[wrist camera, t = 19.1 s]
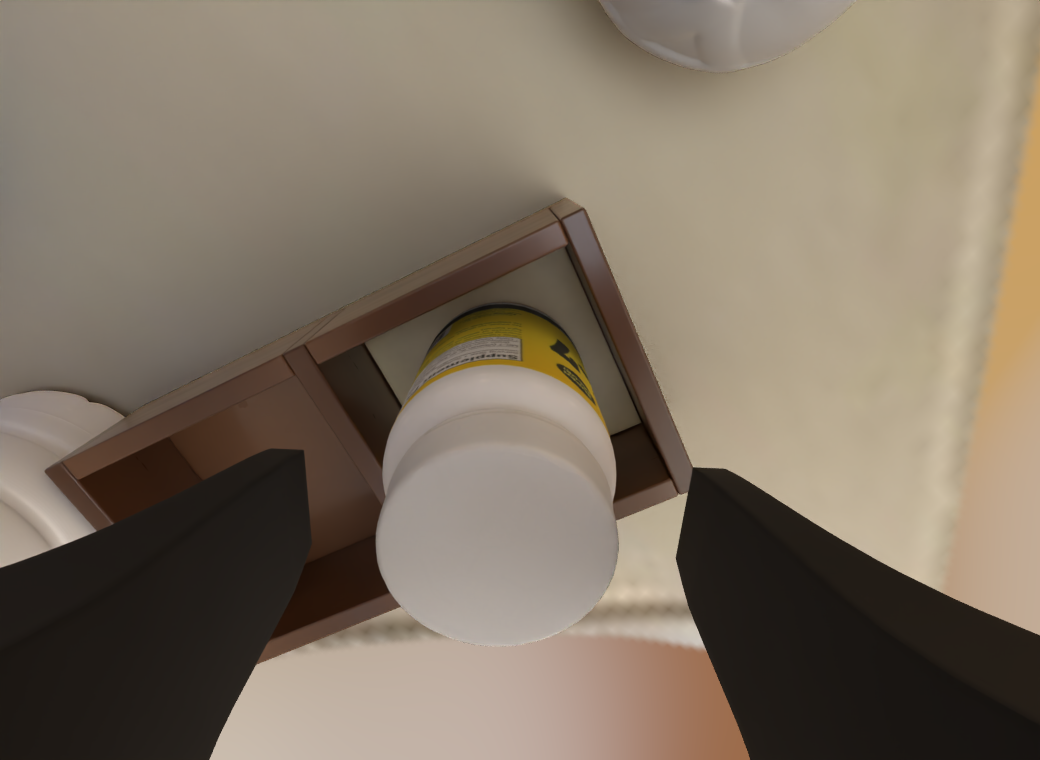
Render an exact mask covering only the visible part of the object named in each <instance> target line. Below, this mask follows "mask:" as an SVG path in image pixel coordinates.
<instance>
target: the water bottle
mask: <svg viewBox="0 0 1040 760" xmlns="http://www.w3.org/2000/svg"><path fill="white" fill-rule="evenodd" d="M123 418H125V417H124V416H123V415H121V414H120V413H118V412H117V411H115V410H113V409H111V408H110V407H108V406H105V405H103V404H100V403H92V402H88V400H87V399H86V398H84V397H82V396H79V395H76V394H72V393H66V392H59V391H32V392H27V393H23V394H15V395H11V396H8V397H5V398H2V399H0V568H1V567H4V566H7V565H10V564H13V563H16V562H19V561H22V560H25V559H27V558H30V557H33V556H36V555H38V554H41V553H43V552H46V551H49V550H51V549H54V548H56V547H59V546H62V545H64V544H67V543H69V542H72V541H74V540H77V539H79V538H82V537H84V536H87V535H89V534H91V533H94V532H96V530H95V529H94V528H93V526H92V525H91V524H90V523H89V522H88V521H87V520H86V519H85V517H84V516H83V515H82V514H81V513H80V512H79V511H78V510H77V508H76V507H75V506H74V505H73V504H72V503H71V502H70V501H69V499H68V498H67V497H66V496H65V495H64V494H63V493H62V492H61V490H60V489H59V488H58V487H57V486H56V485H55V484H54V482H53V481H52V480H51V479H50V478H49V477H48V476H47V475H46V473H45V470H46V468H48V467H50V466H51V465H53V464H54V463H56V462H57V461H59V460H60V459H62V458H63V457H65V456H66V455H68V454H70V453H71V452H73V451H74V450H76V449H77V448H79V447H80V446H82V445H83V444H85V443H86V442H88V441H89V440H91V439H93V438H94V437H96V436H97V435H99V434H100V433H102V432H103V431H105V430H106V429H108V428H109V427H111V426H113V425H114V424H116V423H117V422H119V421H120V420H122V419H123Z"/></svg>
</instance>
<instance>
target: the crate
mask: <svg viewBox="0 0 1040 760" xmlns="http://www.w3.org/2000/svg"><path fill="white" fill-rule="evenodd" d="M500 302H502V303H515V304H521V305H525V306H528V307H531V308H534V309H536V310H539V311H540V312H542V313H544V314H546V315H548V316H549V317H550V318H552V319H553V320H555V321H556V322H557V323H558V324H559V325H560V326H561V327H562V328H563V329H564V330H565V331H566V333H567V334H568V335H569V337H570V338H571V340H572V341H573V343H574V345H575V347H576V349H577V351H578V353H579V355H580V358H581V360H582V363H583V365H584V368H585V371H586V374H587V377H588V379H589V382H590V384H591V387H592V390H593V393H594V396H595V399H596V401H597V404H598V407H599V409H600V412H601V414H602V417H603V419H604V421H605V424H606V427H607V429H608V432H609V435H610V440H611V443H612V447H613V451H614V457H615V461H616V487H615V494H614V498H613V511H614V515H615V519H616V520H619V519H621V518H624V517H626V516H629V515H631V514H634V513H636V512H639V511H641V510H644V509H646V508H649V507H651V506H654V505H656V504H659V503H661V502H664V501H666V500H669V499H671V498H674V497H676V496H678V493H679V494H684V493H686V492H688V491H689V485H690V480H691V475H692V470H693V467H692V464H691V462H690V459H689V457H688V455H687V452H686V450H685V447H684V445H683V443H682V440H681V438H680V435H679V433H678V431H677V428H676V426H675V423H674V421H673V419H672V416H671V414H670V411H669V409H668V407H667V404H666V402H665V399H664V397H663V395H662V392H661V390H660V387H659V385H658V382H657V380H656V378H655V375H654V373H653V370H652V368H651V366H650V363H649V361H648V358H647V356H646V354H645V351H644V349H643V346H642V344H641V342H640V339H639V337H638V334H637V332H636V330H635V327H634V325H633V322H632V320H631V318H630V315H629V313H628V310H627V308H626V306H625V303H624V301H623V298H622V296H621V294H620V291H619V289H618V286H617V284H616V282H615V279H614V277H613V274H612V272H611V269H610V267H609V265H608V262H607V260H606V257H605V255H604V253H603V250H602V248H601V245H600V243H599V241H598V238H597V236H596V233H595V231H594V229H593V226H592V224H591V221H590V219H589V217H588V214H587V212H586V210H585V209H584V208H583V207H582V206H580V205H578V204H576V203H575V202H573V201H571V200H570V199H568V198H564V199H562V200H560V201H558V202H556V203H554V204H552V205H550V206H548V207H546V208H544V209H542V210H540V211H538V212H536V213H534V214H532V215H530V216H528V217H526V218H523V219H521V220H519V221H517V222H515V223H513V224H511V225H509V226H507V227H505V228H503V229H501V230H499V231H497V232H495V233H493V234H491V235H489V236H487V237H485V238H483V239H481V240H479V241H477V242H475V243H473V244H471V245H469V246H467V247H465V248H463V249H461V250H459V251H456V252H454V253H452V254H450V255H448V256H446V257H444V258H442V259H440V260H438V261H436V262H434V263H432V264H430V265H428V266H426V267H424V268H422V269H420V270H418V271H416V272H414V273H412V274H410V275H408V276H406V277H404V278H402V279H400V280H398V281H396V282H394V283H391V284H389V285H387V286H385V287H383V288H381V289H379V290H377V291H375V292H373V293H371V294H369V295H367V296H365V297H363V298H361V299H359V300H357V301H355V302H353V303H351V304H349V305H347V306H345V307H343V308H341V309H339V310H337V311H335V312H333V313H331V314H329V315H326V316H324V317H322V318H320V319H318V320H316V321H314V322H312V323H310V324H308V325H306V326H304V327H302V328H300V329H298V330H296V331H294V332H292V333H290V334H288V335H286V336H284V337H282V338H280V339H278V340H276V341H274V342H272V343H270V344H268V345H266V346H264V347H261V348H259V349H257V350H255V351H253V352H251V353H249V354H247V355H245V356H243V357H241V358H239V359H237V360H235V361H233V362H231V363H229V364H227V365H225V366H223V367H221V368H219V369H217V370H215V371H213V372H211V373H209V374H207V375H205V376H203V377H201V378H199V379H197V380H194V381H192V382H190V383H188V384H186V385H184V386H182V387H180V388H178V389H176V390H174V391H172V392H170V393H168V394H166V395H164V396H162V397H160V398H158V399H156V400H154V401H152V402H150V403H148V404H146V405H144V406H142V407H140V408H139V409H137V410H136V411H134V412H133V413H131V414H129V415H128V416H126V417H125V418H123V419H122V420H120V421H119V422H117V423H116V424H114V425H113V426H111V427H109V428H108V429H106V430H105V431H103V432H102V433H100V434H99V435H97V436H96V437H94V438H93V439H91V440H89V441H88V442H86V443H85V444H83V445H82V446H80V447H79V448H77V449H76V450H74V451H73V452H71V453H70V454H68V455H66V456H65V457H63V458H62V459H60V460H59V461H57V462H56V463H54V464H53V465H51V466H50V467H48V468H46V470H45V473H46V475H47V476H48V477H49V478H50V479H51V480H52V481H53V482H54V484H55V485H56V486H57V487H58V488H59V489H60V490H61V492H62V493H63V494H64V495H65V496H66V497H67V498H68V499H69V501H70V502H71V503H72V504H73V505H74V506H75V507H76V508H77V510H78V511H79V512H80V513H81V514H82V515H83V516H84V517H85V519H86V520H87V521H88V522H89V523H90V524H91V525H92V526H93V528H94V529H95V530H96V531H98V530H101V529H103V528H105V527H108V526H110V525H112V524H114V523H117V522H119V521H121V520H123V519H125V518H127V517H129V516H131V515H134V514H136V513H138V512H140V511H142V510H144V509H146V508H148V507H151V506H153V505H155V504H157V503H159V502H161V501H163V500H166V499H168V498H170V497H172V496H174V495H176V494H178V493H180V492H182V491H184V490H186V489H188V488H190V487H192V486H193V485H195V484H197V483H199V482H201V481H203V480H205V479H207V478H209V477H211V476H213V475H215V474H217V473H219V472H221V471H223V470H225V469H227V468H229V467H231V466H233V465H234V464H236V463H238V462H240V461H242V460H244V459H247V458H249V457H251V456H253V455H255V454H257V453H260V452H262V451H265V450H267V449H270V448H276V449H298V450H304V455H305V467H306V479H307V490H308V502H309V514H310V526H311V538H312V545H311V548H310V550H309V553H308V556H307V559H306V562H305V565H304V568H303V570H302V573H301V576H300V578H299V581H298V583H297V586H296V589H295V591H294V593H293V595H292V597H291V599H290V601H289V603H288V605H287V607H286V609H285V611H284V613H283V615H282V617H281V619H280V620H279V622H278V624H277V626H276V628H275V630H274V632H273V634H272V636H271V637H270V639H269V641H268V643H267V645H266V647H265V649H264V651H263V652H262V654H261V656H260V658H259V660H258V662H257V664H259V663H261V662H264V661H266V660H269V659H271V658H274V657H276V656H279V655H281V654H284V653H286V652H289V651H291V650H294V649H296V648H299V647H301V646H304V645H306V644H309V643H311V642H314V641H316V640H319V639H321V638H324V637H326V636H329V635H331V634H334V633H336V632H339V631H341V630H344V629H346V628H349V627H351V626H354V625H356V624H359V623H361V622H364V621H366V620H369V619H371V618H374V617H376V616H379V615H381V614H384V613H386V612H389V611H391V610H394V609H396V608H399V607H401V606H400V605H399V604H398V602H397V601H396V600H395V598H394V597H393V596H392V594H391V593H390V591H389V589H388V587H387V586H386V583H385V581H384V579H383V577H382V575H381V573H380V570H379V566H378V562H377V554H376V529H377V523H378V519H379V516H380V512H381V509H382V506H383V503H384V500H385V497H386V496H385V491H384V486H383V476H382V471H383V459H384V453H385V449H386V444H387V440H388V437H389V434H390V432H391V429H392V427H393V425H394V423H395V420H396V418H397V415H398V414H399V412H400V410H401V408H402V406H403V404H404V402H405V399H406V397H407V395H408V392H409V390H410V388H411V386H412V384H413V382H414V380H415V377H416V375H417V373H418V371H419V369H420V367H421V364H422V362H423V360H424V358H425V356H426V354H427V351H428V350H429V348H430V346H431V344H432V342H433V341H434V339H435V337H436V336H437V335H438V333H439V332H440V331H441V330H442V329H443V328H444V327H445V326H446V325H447V324H448V323H449V322H450V321H451V320H453V319H454V318H455V317H457V316H458V315H460V314H461V313H463V312H465V311H467V310H469V309H472V308H475V307H478V306H481V305H485V304H490V303H500Z"/></svg>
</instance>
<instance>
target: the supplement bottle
mask: <svg viewBox="0 0 1040 760" xmlns="http://www.w3.org/2000/svg"><path fill="white" fill-rule="evenodd" d="M382 476H383V486H384V491H385V496H386V497H385V500H384V503H383V506H382V509H381V512H380V516H379V519H378V523H377V529H376V554H377V562H378V566H379V570H380V573H381V575H382V577H383V579H384V581H385V583H386V586H387V587H388V589H389V591H390V593H391V594H392V596H393V597H394V598H395V600H396V601H397V602H398V604H399V605H400V606H401V607H402V608H403V609H404V610H405V611H406V612H407V613H408V614H409V615H410V616H412V617H413V618H414V619H416V620H417V621H418V622H420V623H421V624H422V625H424V626H426V627H427V628H429V629H431V630H432V631H435V632H437V633H439V634H442V635H444V636H446V637H448V638H451V639H454V640H457V641H460V642H464V643H469V644H474V645H480V646H517V645H522V644H528V643H531V642H536V641H540V640H543V639H546V638H549V637H551V636H553V635H556V634H558V633H561V632H562V631H564V630H565V629H567V628H569V627H570V626H572V625H574V624H575V623H577V622H578V621H580V620H581V619H582V618H583V617H584V616H585V615H586V614H587V613H589V612H590V611H591V610H592V609H593V607H594V606H595V605H596V603H597V602H598V601H599V600H600V599H601V598H602V596H603V594H604V593H605V591H606V590H607V588H608V586H609V584H610V582H611V579H612V577H613V575H614V571H615V567H616V563H617V558H618V550H619V541H618V530H617V524H616V519H615V515H614V511H613V498H614V494H615V487H616V461H615V457H614V451H613V447H612V443H611V440H610V435H609V432H608V429H607V427H606V424H605V421H604V419H603V417H602V414H601V412H600V409H599V407H598V404H597V401H596V399H595V396H594V393H593V390H592V387H591V384H590V382H589V379H588V377H587V374H586V371H585V368H584V365H583V363H582V360H581V358H580V355H579V353H578V351H577V349H576V347H575V345H574V343H573V341H572V340H571V338H570V337H569V335H568V334H567V333H566V331H565V330H564V329H563V328H562V327H561V326H560V325H559V324H558V323H557V322H556V321H555V320H553V319H552V318H550V317H549V316H548V315H546V314H544V313H542V312H540V311H539V310H536V309H534V308H531V307H528V306H525V305H521V304H515V303H502V302H500V303H490V304H485V305H481V306H478V307H475V308H472V309H469V310H467V311H465V312H463V313H461V314H460V315H458V316H457V317H455V318H454V319H453V320H451V321H450V322H449V323H448V324H447V325H446V326H445V327H444V328H443V329H442V330H441V331H440V332H439V333H438V335H437V336H436V337H435V339H434V341H433V342H432V344H431V346H430V348H429V350H428V351H427V354H426V356H425V358H424V360H423V362H422V364H421V367H420V369H419V371H418V373H417V375H416V377H415V380H414V382H413V384H412V386H411V388H410V390H409V392H408V395H407V397H406V399H405V402H404V404H403V406H402V408H401V410H400V412H399V414H398V415H397V418H396V420H395V423H394V425H393V427H392V429H391V432H390V434H389V437H388V440H387V444H386V449H385V453H384V459H383V471H382Z"/></svg>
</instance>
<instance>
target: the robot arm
mask: <svg viewBox="0 0 1040 760" xmlns="http://www.w3.org/2000/svg"><path fill="white" fill-rule="evenodd" d="M311 545H312V538H311V526H310V514H309V502H308V490H307V479H306V467H305V455H304V450H298V449H276V448H270V449H267V450H265V451H262V452H260V453H257V454H255V455H253V456H251V457H249V458H247V459H244V460H242V461H240V462H238V463H236V464H234V465H233V466H231V467H229V468H227V469H225V470H223V471H221V472H219V473H217V474H215V475H213V476H211V477H209V478H207V479H205V480H203V481H201V482H199V483H197V484H195V485H193V486H192V487H190V488H188V489H186V490H184V491H182V492H180V493H178V494H176V495H174V496H172V497H170V498H168V499H166V500H163V501H161V502H159V503H157V504H155V505H153V506H151V507H148V508H146V509H144V510H142V511H140V512H138V513H136V514H134V515H131V516H129V517H127V518H125V519H123V520H121V521H119V522H117V523H114V524H112V525H110V526H108V527H105V528H103V529H101V530H98V531H96V532H94V533H91V534H89V535H87V536H84V537H82V538H79V539H77V540H74V541H72V542H69V543H67V544H64V545H62V546H59V547H56V548H54V549H51V550H49V551H46V552H43V553H41V554H38V555H36V556H33V557H30V558H27V559H25V560H22V561H19V562H16V563H13V564H10V565H7V566H4V567H1V568H0V760H209V759H210V757H211V754H212V752H213V749H214V747H215V745H216V742H217V740H218V737H219V735H220V733H221V731H222V729H223V727H224V725H225V723H226V721H227V719H228V717H229V715H230V713H231V710H232V708H233V707H234V705H235V703H236V701H237V699H238V697H239V695H240V694H241V692H242V690H243V688H244V686H245V684H246V682H247V680H248V679H249V676H250V675H251V673H252V671H253V669H254V667H255V666H256V664H257V662H258V660H259V658H260V656H261V654H262V652H263V651H264V649H265V647H266V645H267V643H268V641H269V639H270V637H271V636H272V634H273V632H274V630H275V628H276V626H277V624H278V622H279V620H280V619H281V617H282V615H283V613H284V611H285V609H286V607H287V605H288V603H289V601H290V599H291V597H292V595H293V593H294V591H295V589H296V586H297V583H298V581H299V578H300V576H301V573H302V570H303V568H304V565H305V562H306V559H307V556H308V553H309V550H310V548H311ZM676 561H677V565H678V569H679V573H680V577H681V581H682V585H683V588H684V592H685V596H686V599H687V603H688V606H689V609H690V611H691V614H692V616H693V619H694V621H695V624H696V626H697V629H698V631H699V634H700V636H701V638H702V641H703V643H704V646H705V648H706V650H707V653H708V655H709V658H710V660H711V662H712V664H713V667H714V669H715V672H716V674H717V677H718V679H719V681H720V684H721V686H722V688H723V691H724V693H725V695H726V698H727V700H728V702H729V705H730V707H731V710H732V712H733V714H734V717H735V719H736V722H737V724H738V727H739V729H740V732H741V735H742V737H743V740H744V743H745V745H746V748H747V751H748V754H749V757H750V760H1040V635H1038V634H1035V633H1033V632H1030V631H1028V630H1025V629H1023V628H1021V627H1018V626H1016V625H1013V624H1011V623H1008V622H1006V621H1004V620H1001V619H999V618H997V617H994V616H992V615H990V614H987V613H985V612H982V611H980V610H978V609H975V608H973V607H971V606H969V605H967V604H964V603H962V602H960V601H958V600H955V599H953V598H951V597H949V596H947V595H945V594H943V593H941V592H939V591H937V590H935V589H933V588H931V587H929V586H927V585H925V584H923V583H921V582H918V581H916V580H914V579H912V578H910V577H908V576H906V575H904V574H902V573H900V572H898V571H896V570H895V569H893V568H891V567H889V566H887V565H885V564H883V563H881V562H880V561H878V560H876V559H874V558H872V557H871V556H869V555H867V554H865V553H864V552H862V551H860V550H858V549H857V548H855V547H853V546H851V545H850V544H848V543H846V542H844V541H843V540H841V539H839V538H838V537H836V536H834V535H833V534H831V533H829V532H828V531H826V530H824V529H823V528H821V527H819V526H818V525H816V524H815V523H813V522H811V521H810V520H808V519H807V518H805V517H803V516H802V515H800V514H799V513H797V512H796V511H794V510H792V509H791V508H789V507H788V506H786V505H785V504H783V503H781V502H780V501H778V500H777V499H775V498H774V497H772V496H771V495H769V494H767V493H766V492H764V491H763V490H761V489H760V488H758V487H756V486H755V485H753V484H752V483H750V482H748V481H747V480H745V479H743V478H742V477H740V476H738V475H736V474H735V473H733V472H731V471H729V470H726V469H717V468H695V467H693V470H692V475H691V480H690V485H689V491H688V496H687V501H686V507H685V512H684V517H683V523H682V528H681V533H680V538H679V544H678V549H677V554H676Z"/></svg>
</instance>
